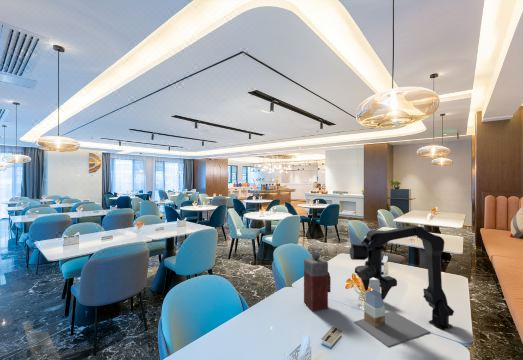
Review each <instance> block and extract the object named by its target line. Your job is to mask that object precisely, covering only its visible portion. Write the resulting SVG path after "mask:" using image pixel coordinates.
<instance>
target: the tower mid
mask: <svg viewBox="0 0 523 360" xmlns="http://www.w3.org/2000/svg"><path fill="white" fill-rule="evenodd" d="M363 307H364V308H363V310H364V311H363V313H364V312H366V313H367V314H369V315H371V316H372V317H374V318H378V317H381V316H385V313H386V306H385V305H384V304H383V306H381V307H378V308H374V307H372V306H370V305H368V304H367V303H366V301H365V302H364V305H363Z"/></svg>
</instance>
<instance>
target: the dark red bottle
mask: <svg viewBox="0 0 523 360" xmlns="http://www.w3.org/2000/svg"><path fill="white" fill-rule="evenodd" d="M311 256H312V257H305V258H303V304H304V303H305V304H306V305H305V304H304V305H305V306H306V307H307V308H308V309H309V310H310V311H311V312H317V311H323V310H328V309H329V293H331V288H332V287H331V283H332V281H331V279H332V278H331V274H330V272H329V262H328V261H327V260H325V259H323V258H321V256H320V251H319V250H318V249H317V250H315V249H314V250H312V252H311Z"/></svg>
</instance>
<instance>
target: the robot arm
mask: <svg viewBox="0 0 523 360" xmlns="http://www.w3.org/2000/svg"><path fill="white" fill-rule="evenodd" d="M415 236H416V237H417V238H418V239H420V240H421V242H422V246H423V249H424V250H425V253H426V256H427V257H426V261H427V277H428V279H427V280H428V281H427V282H428V285H427V288H423V289H422V290H423V291H422V292H423V296H422V297H423V298H424V300H425V302H426V303H428V305H429V307H430V308H432V311H431V320H428V324H429V323H430V324H431V325H433V326H434V327H438V328H439V329H441V330H443V331H445V330H448V329H449V328H453V327H454V326H453V324H451V323H450V321H449V320H450V318H449V317H450V316H451V317H452V316H454V313H455V311H454V309H452V307H451V306H450V305H449V304H448V300H447V295H446V294H445V291H444V290H443V284H442V266H441V265H442V264H441V261H442V260H441V255H442V253H443V252H444V250H445V240H444V238H443V237H442V236H439V235H436V234H433V233H431V232H429V231H427V230H426V229H425V228H423V227H422V226H419V225H416V224H412V225H410V226H405V227H400V228H393V229H388V230H379V229H378V230H376V229H375V230H373V229H372V230H369V231H367V233H366V235H365V237H364V239H363V240H362V241H361V242H360V243H359V244H358V243H351V245H350V248H349V257H350V259H351V260H352V261H353V260H355V261H357V260H359V261H365V260H366V261H365V262H364V265H359V266H357V265H356V267H355V268H354V273H355V274H356V276H358V278H360V280H361V282H362V284H363V288H364V291H365V292H366V291H368V287H369V281H370V279H371V278H373V277H374V278H376V279H378V280H379V282H380V285H379V286H380V293H381V297H382V300H383V301H384V300H385V299H386V297H387V295H388V293H389V292H390V290H392V288H394V287H397V286H398V280H397V278H395V277H392V276H390V275H386V276H383V275H384V273H385V272H384V271H382V267H383V266H384V265H385V263H384V262H383V261H382V259H383V257H382V255H383V251H388V249H387V248H386V247H385V246H384V245H386V244H387V243H389V242H390V241H395V240H400V239H405V238H410V237H415Z"/></svg>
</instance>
